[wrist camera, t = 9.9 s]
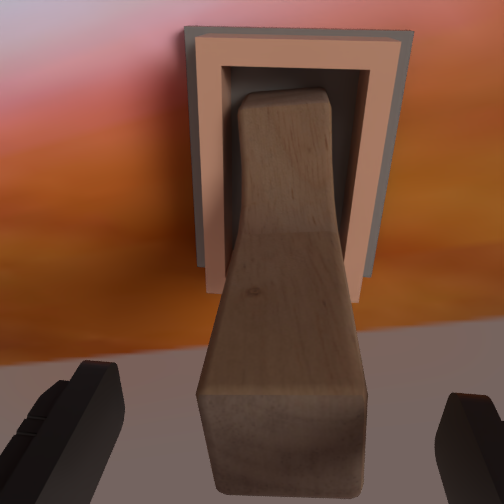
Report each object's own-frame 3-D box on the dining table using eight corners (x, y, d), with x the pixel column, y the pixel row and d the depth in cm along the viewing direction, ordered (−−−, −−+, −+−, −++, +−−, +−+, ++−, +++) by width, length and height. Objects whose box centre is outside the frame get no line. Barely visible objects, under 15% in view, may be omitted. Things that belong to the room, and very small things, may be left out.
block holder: (409, 30, 23) (432, 34, 19) (369, 269, 31) (379, 308, 27) (188, 25, 24) (167, 29, 20) (200, 259, 32) (186, 295, 28)
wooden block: (245, 91, 25) (154, 238, 9) (326, 84, 24) (379, 229, 8) (258, 233, 29) (213, 500, 13) (327, 231, 28) (364, 505, 13)
